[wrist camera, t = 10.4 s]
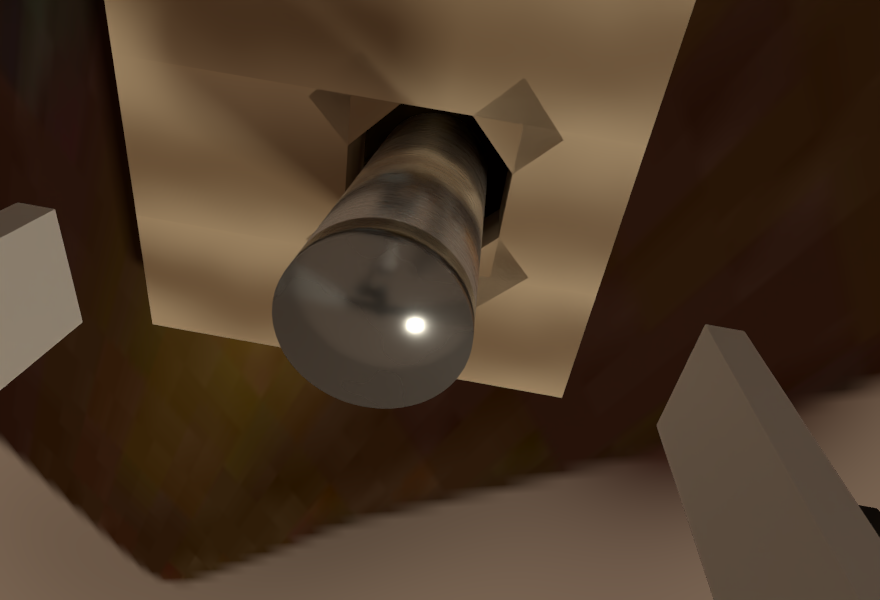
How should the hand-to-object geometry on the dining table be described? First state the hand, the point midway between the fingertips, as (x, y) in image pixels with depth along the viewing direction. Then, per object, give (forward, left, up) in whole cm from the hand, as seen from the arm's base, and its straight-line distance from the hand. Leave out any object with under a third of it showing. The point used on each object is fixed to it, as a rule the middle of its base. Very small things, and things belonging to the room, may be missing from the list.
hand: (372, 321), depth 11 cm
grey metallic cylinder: (0, 0, -12) cm, 12 cm away
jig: (0, -2, -12) cm, 12 cm away
